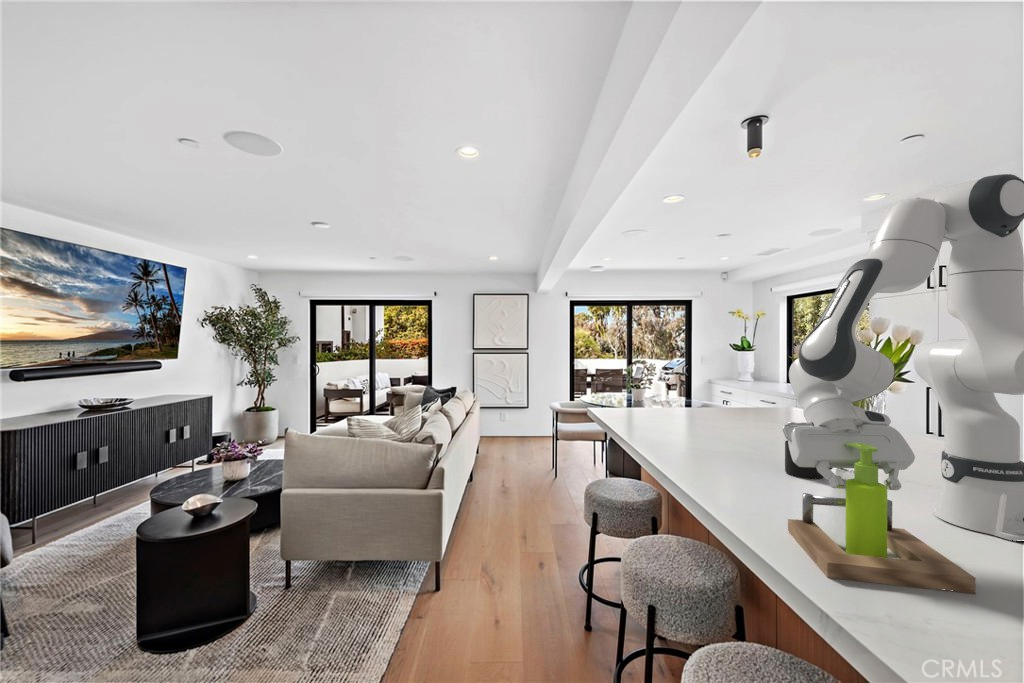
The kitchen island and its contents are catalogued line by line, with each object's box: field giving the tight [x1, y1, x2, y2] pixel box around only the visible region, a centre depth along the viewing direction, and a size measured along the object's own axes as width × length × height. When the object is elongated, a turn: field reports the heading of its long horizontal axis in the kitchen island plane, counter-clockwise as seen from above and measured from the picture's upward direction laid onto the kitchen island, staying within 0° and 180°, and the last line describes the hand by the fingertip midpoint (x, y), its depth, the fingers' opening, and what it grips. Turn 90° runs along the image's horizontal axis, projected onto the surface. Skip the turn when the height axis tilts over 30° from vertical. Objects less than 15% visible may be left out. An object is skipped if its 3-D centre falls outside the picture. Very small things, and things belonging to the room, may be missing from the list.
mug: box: [784, 439, 833, 480], centre depth 127 cm, size 9×12×9 cm
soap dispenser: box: [844, 443, 888, 558], centre depth 81 cm, size 6×7×20 cm
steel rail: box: [801, 492, 893, 531], centre depth 87 cm, size 15×2×6 cm, turn 76°
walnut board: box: [787, 518, 977, 595], centre depth 80 cm, size 20×18×2 cm
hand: (866, 487), depth 80 cm, fingers open, 8 cm apart
